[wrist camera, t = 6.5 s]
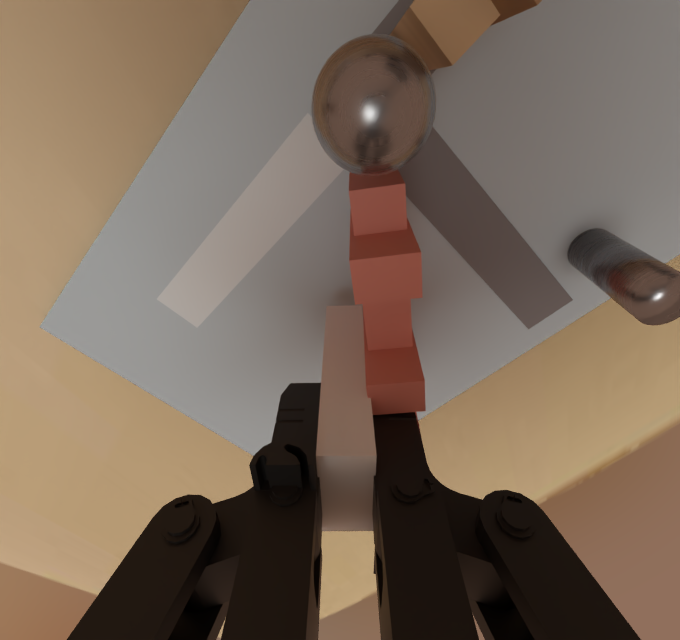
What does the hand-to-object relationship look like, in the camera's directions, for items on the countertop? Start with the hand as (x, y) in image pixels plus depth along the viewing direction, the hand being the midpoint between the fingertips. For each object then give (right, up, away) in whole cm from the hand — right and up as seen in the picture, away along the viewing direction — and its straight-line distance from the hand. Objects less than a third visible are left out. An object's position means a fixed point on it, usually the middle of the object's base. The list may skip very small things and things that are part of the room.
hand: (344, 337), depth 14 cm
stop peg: (+9, +3, 0) cm, 10 cm away
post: (+1, +8, -2) cm, 8 cm away
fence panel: (+1, +2, +1) cm, 3 cm away
